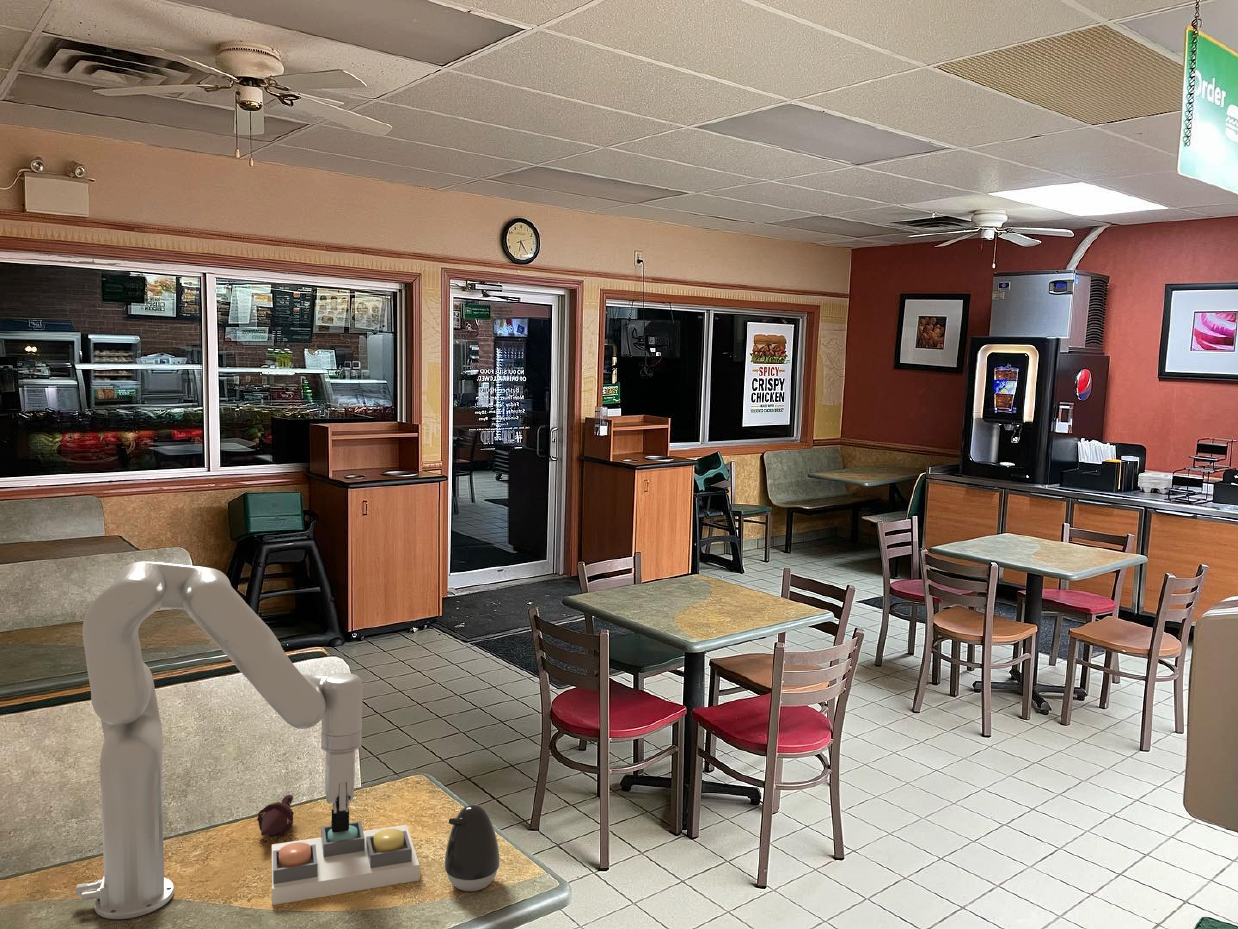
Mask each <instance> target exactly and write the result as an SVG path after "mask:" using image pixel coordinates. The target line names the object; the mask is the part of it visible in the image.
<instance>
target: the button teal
mask: <svg viewBox="0 0 1238 929" xmlns="http://www.w3.org/2000/svg"><path fill="white" fill-rule="evenodd" d="M355 838H357V828H356V827H354V826H351V825H349V830H348V831H343V832H335V833H333V832H332V829H330V830H329V831H328V842H335V841H341V840H348V839H355Z"/></svg>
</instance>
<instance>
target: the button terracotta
mask: <svg viewBox="0 0 1238 929" xmlns="http://www.w3.org/2000/svg"><path fill="white" fill-rule="evenodd" d="M310 862H311V846H310V845H309V844H306V843H291V844H288V845H285V846H284V847H282V848H281V849H280V850H279V867H280V868H284V867H290V866H296V865H303V864H309V863H310Z"/></svg>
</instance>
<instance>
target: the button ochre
mask: <svg viewBox="0 0 1238 929" xmlns="http://www.w3.org/2000/svg"><path fill="white" fill-rule="evenodd" d="M403 848H404V833H403V832H402V831H401V830H398V829H385V830H381V831H379V832H377V833H376V834H375V835H374V852H375V853H379V852H386V851H392V850H398V849H403Z"/></svg>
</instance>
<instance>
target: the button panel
mask: <svg viewBox="0 0 1238 929" xmlns="http://www.w3.org/2000/svg"><path fill="white" fill-rule="evenodd" d="M349 825H351V826H354V827H356V828H357V838H355V839H348V840H341V841H335V842H328V831H329V830H330V829H332V828H331V824H330V825H324V826H321V827H320V834H321V836H319V837H314V838H307V839H300V840H293V841H288V842H279V843H273V844H271V892H272V893H271V894H272V895H271V897H272V898H271V899H272V900H271V903H272V904H271V905H272V906H276V905H282V904H287V903H294V902H299V901H305V900H311V899H316V898H322V897H323V898H324V897H329V896H334V895H340V894H346V893H353V892H357V891H358V892H359V891H363V890H370V889H374V888H375V889H376V888H382V887H383V888H384V887H388V886H393V885H398V884H399V883H400V884H406V883H411V882H416V881H420V862H419V859H418V856H417V853H416V850H415V846H414V843H413V840H412V836H411V833H410V830H409V828H408V824H401V825H396V826H388V827H383V828H382V827H381V828H375V829H374V828H373V829H368V830H363V825H362V821H361V820H359V821H352V822H349ZM385 829H398V830H401V831H402V832H403V833H404V848H403V849H398V850H392V851H386V852H379V853H375V852H374V835H375V834H376V833H377V832H379V831H381V830H385ZM291 843H306V844H309V845H310V846H311V862H310V863H309V864H303V865H296V866H290V867H284V868H280V867H279V850H280V849H281V848H282V847H284V846H285V845H288V844H291Z"/></svg>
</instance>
